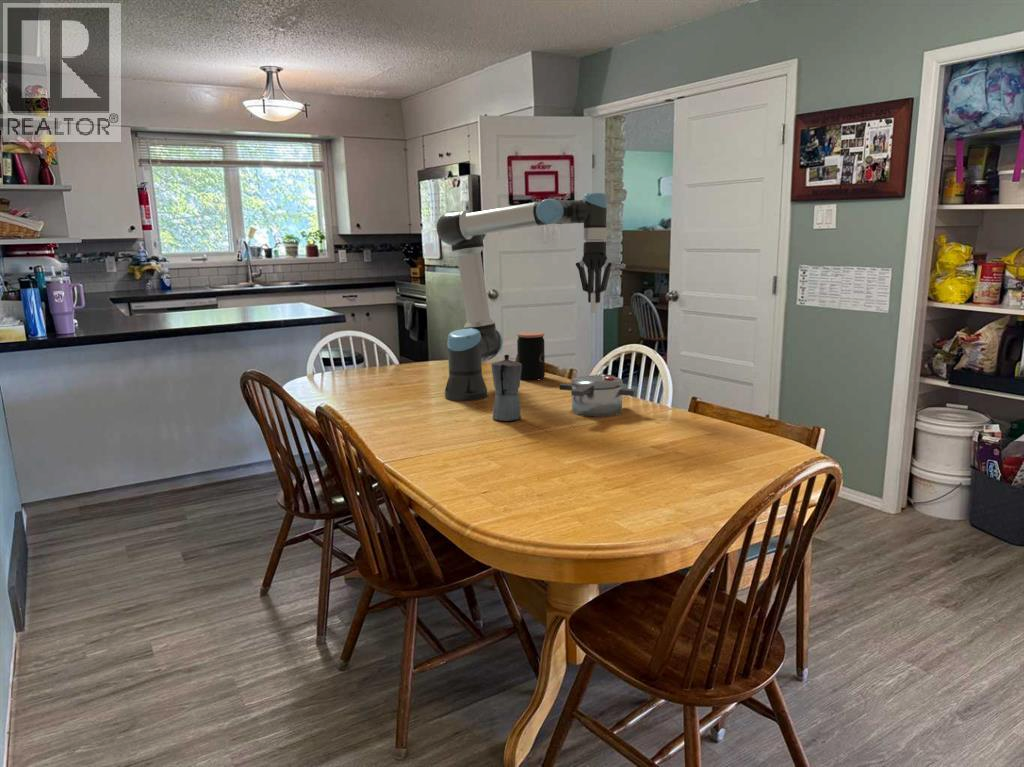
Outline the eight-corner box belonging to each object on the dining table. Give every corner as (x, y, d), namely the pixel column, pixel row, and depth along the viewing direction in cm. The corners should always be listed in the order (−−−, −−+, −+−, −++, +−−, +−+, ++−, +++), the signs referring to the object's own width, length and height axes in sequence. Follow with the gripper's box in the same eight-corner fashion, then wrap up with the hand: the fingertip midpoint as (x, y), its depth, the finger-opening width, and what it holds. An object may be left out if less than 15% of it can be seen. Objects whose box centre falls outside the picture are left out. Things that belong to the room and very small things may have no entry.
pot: (551, 412, 222) (550, 386, 220) (572, 400, 237) (572, 375, 236) (626, 420, 210) (626, 393, 208) (644, 407, 226) (644, 381, 224)
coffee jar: (545, 380, 270) (544, 335, 267) (517, 381, 271) (516, 335, 267) (544, 375, 281) (543, 331, 277) (518, 375, 281) (517, 331, 277)
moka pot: (524, 412, 222) (523, 351, 218) (520, 425, 207) (519, 359, 203) (495, 412, 223) (493, 351, 219) (489, 425, 208) (487, 360, 204)
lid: (552, 393, 210) (552, 387, 210) (584, 377, 233) (584, 371, 232) (602, 398, 203) (602, 391, 202) (630, 380, 226) (630, 374, 225)
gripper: (617, 241, 230) (616, 312, 235) (580, 241, 236) (580, 310, 241) (609, 240, 224) (608, 314, 228) (572, 241, 230) (571, 312, 234)
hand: (594, 312), depth 234 cm, fingers closed
